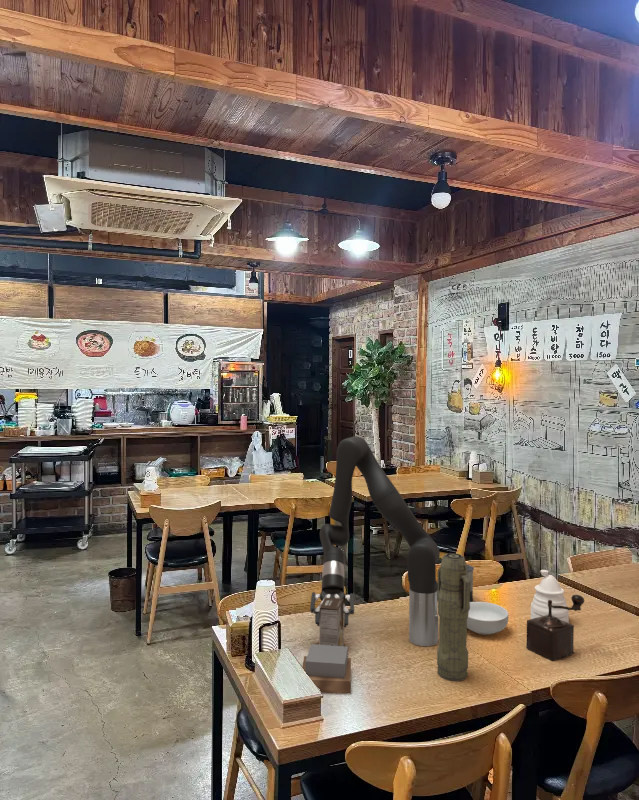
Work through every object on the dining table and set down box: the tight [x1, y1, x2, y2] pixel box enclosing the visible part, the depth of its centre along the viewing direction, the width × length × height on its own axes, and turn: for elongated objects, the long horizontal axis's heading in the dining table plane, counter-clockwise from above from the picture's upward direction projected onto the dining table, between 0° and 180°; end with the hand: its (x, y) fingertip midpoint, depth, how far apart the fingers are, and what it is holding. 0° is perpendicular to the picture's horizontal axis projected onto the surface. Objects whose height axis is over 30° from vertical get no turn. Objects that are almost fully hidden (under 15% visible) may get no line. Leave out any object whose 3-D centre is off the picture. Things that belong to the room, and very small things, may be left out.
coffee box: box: [319, 598, 345, 646], centre depth 184 cm, size 9×6×16 cm
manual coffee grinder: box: [525, 594, 585, 662], centre depth 187 cm, size 16×11×18 cm
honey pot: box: [530, 569, 570, 623], centre depth 210 cm, size 13×13×18 cm
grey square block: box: [305, 644, 349, 678], centre depth 167 cm, size 11×11×4 cm
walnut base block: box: [301, 655, 352, 695], centre depth 167 cm, size 14×14×4 cm
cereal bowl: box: [467, 601, 509, 636], centre depth 202 cm, size 17×17×7 cm
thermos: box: [436, 552, 470, 682], centre depth 171 cm, size 9×12×35 cm
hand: (331, 625), depth 184 cm, fingers open, 8 cm apart
